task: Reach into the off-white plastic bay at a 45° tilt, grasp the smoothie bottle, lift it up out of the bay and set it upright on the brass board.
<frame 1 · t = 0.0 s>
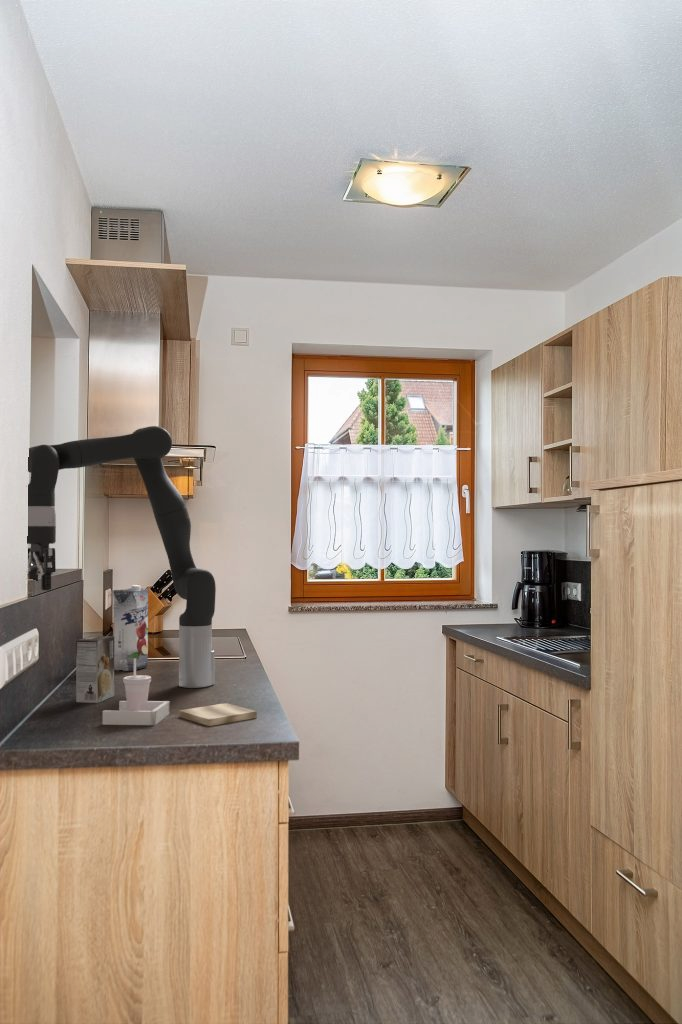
hand: (39, 589, 206), 29 cm above the counter, tool pointing down, fingers open, 8 cm apart
smoothie: (137, 720, 191), resting in bay
juice carton: (130, 669, 265), on the counter
brass board: (217, 717, 193), on the counter
coffee box: (95, 700, 215), on the counter
bay: (137, 719, 191), on the counter
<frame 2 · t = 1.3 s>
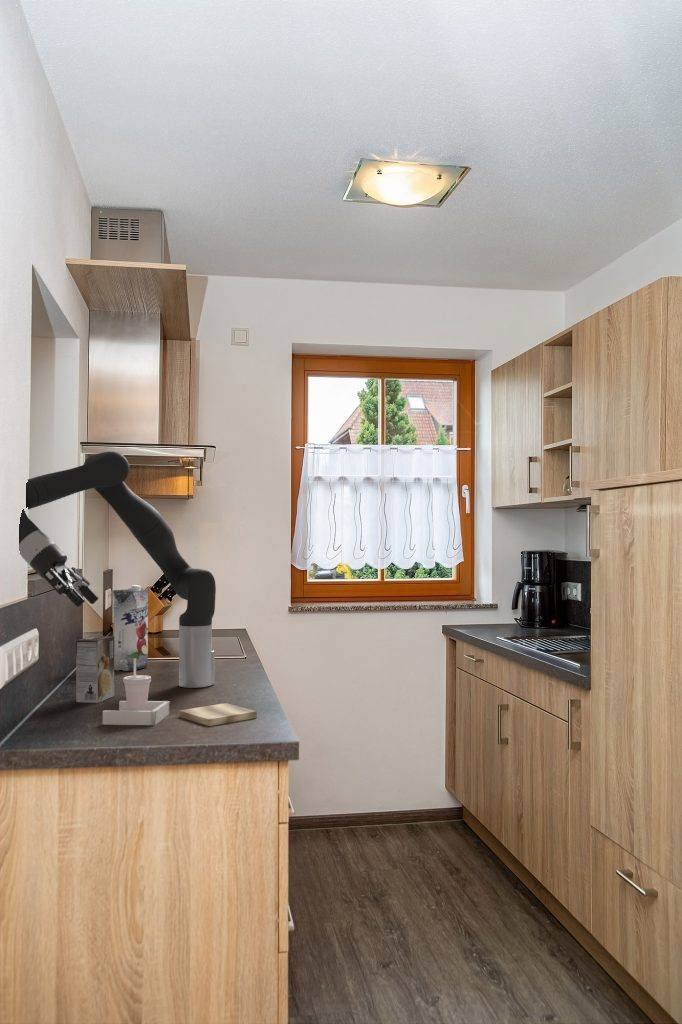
hand: (88, 602, 193), 27 cm above the counter, tool tilted 45°, fingers open, 8 cm apart
nothing on the counter moved.
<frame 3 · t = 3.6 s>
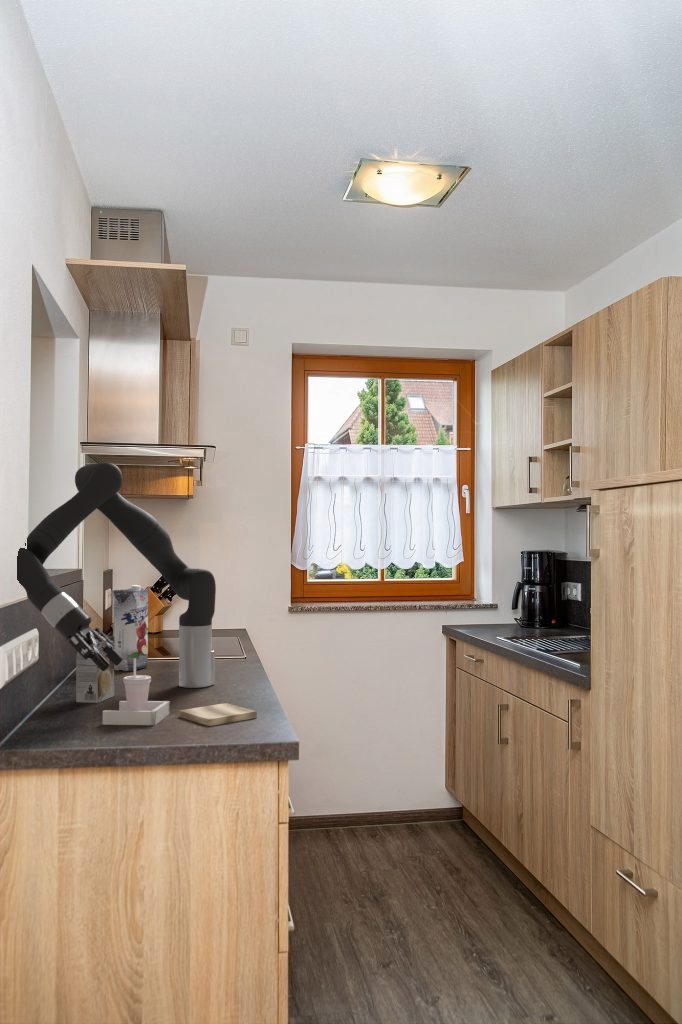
hand: (113, 665, 192), 12 cm above the counter, tool tilted 45°, fingers open, 8 cm apart
nothing on the counter moved.
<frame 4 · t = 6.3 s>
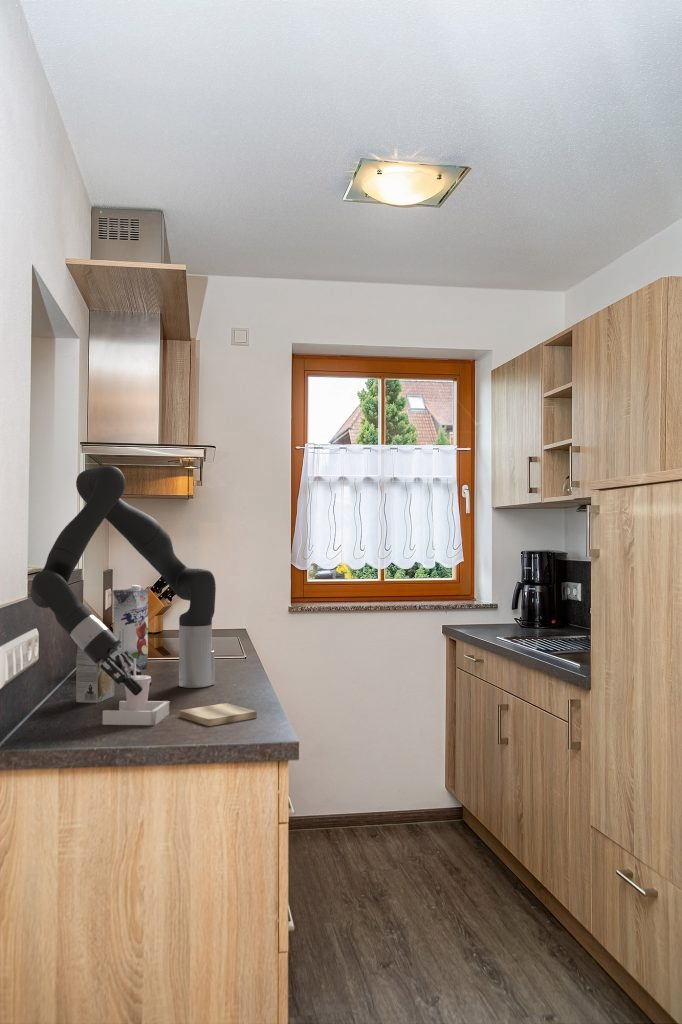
hand: (144, 689, 191), 7 cm above the counter, tool tilted 45°, fingers closed on smoothie, 6 cm apart
smoothie: (137, 719, 191), resting in bay, touching gripper
everything else where it was.
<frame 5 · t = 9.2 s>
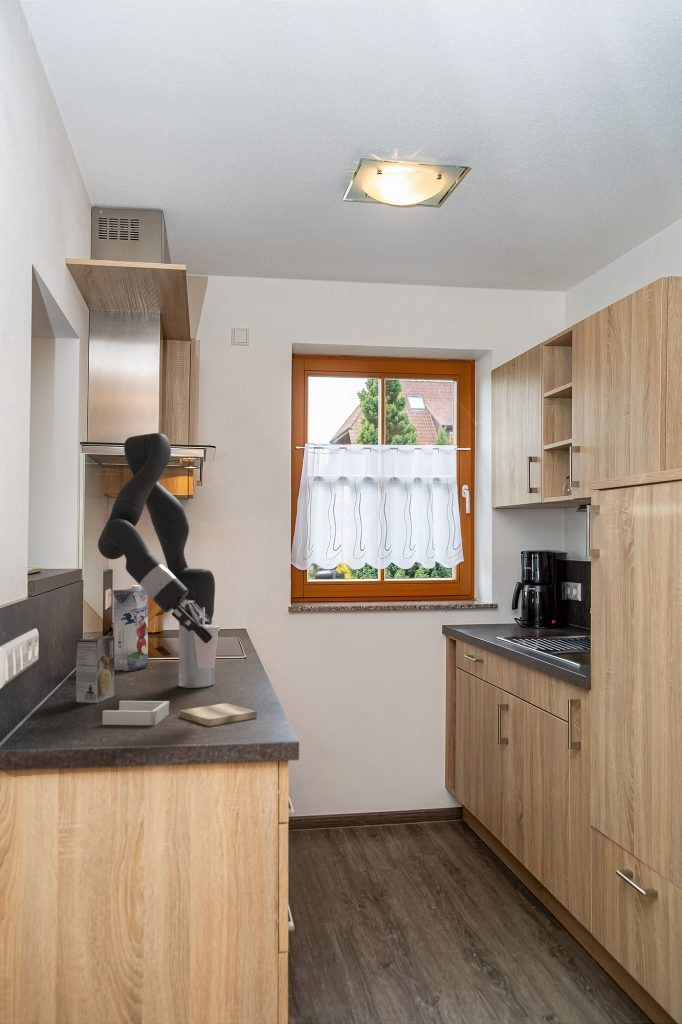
hand: (213, 638, 193), 18 cm above the counter, tool tilted 45°, fingers closed on smoothie, 6 cm apart
smoothie: (206, 668, 193), point 11 cm above the counter, touching gripper
everything else where it was.
when the fingers open (10 cm above the counter, at t = 12.1 s): smoothie drops 1 cm, resting on brass board.
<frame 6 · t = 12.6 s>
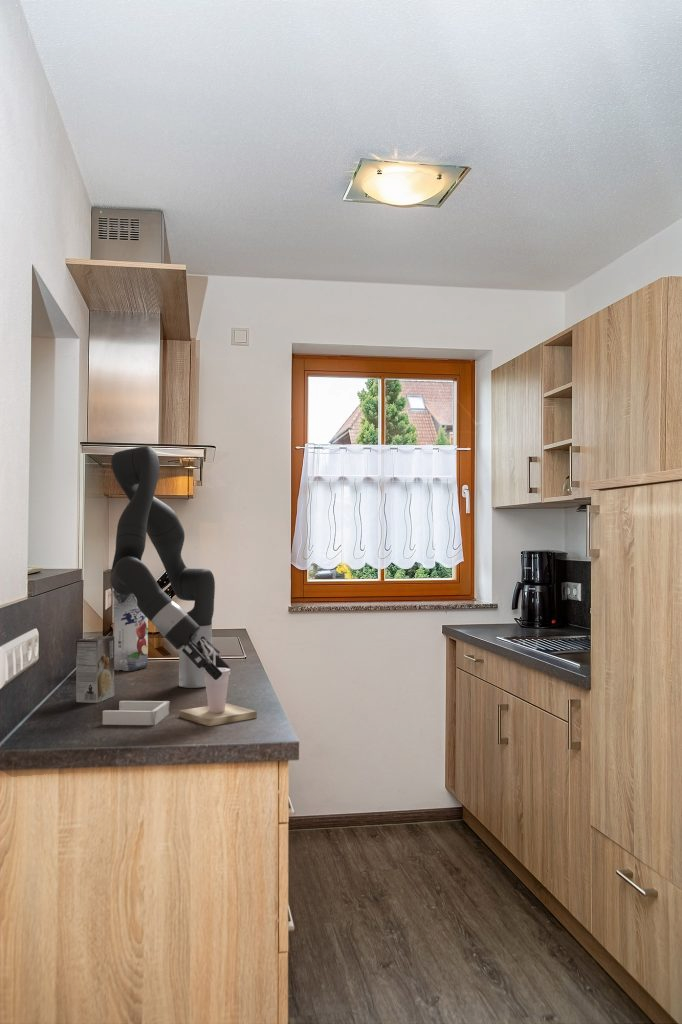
hand: (223, 674, 193), 10 cm above the counter, tool tilted 45°, fingers open, 8 cm apart
smoothie: (216, 711, 192), point 1 cm above the counter, touching brass board
everything else where it was.
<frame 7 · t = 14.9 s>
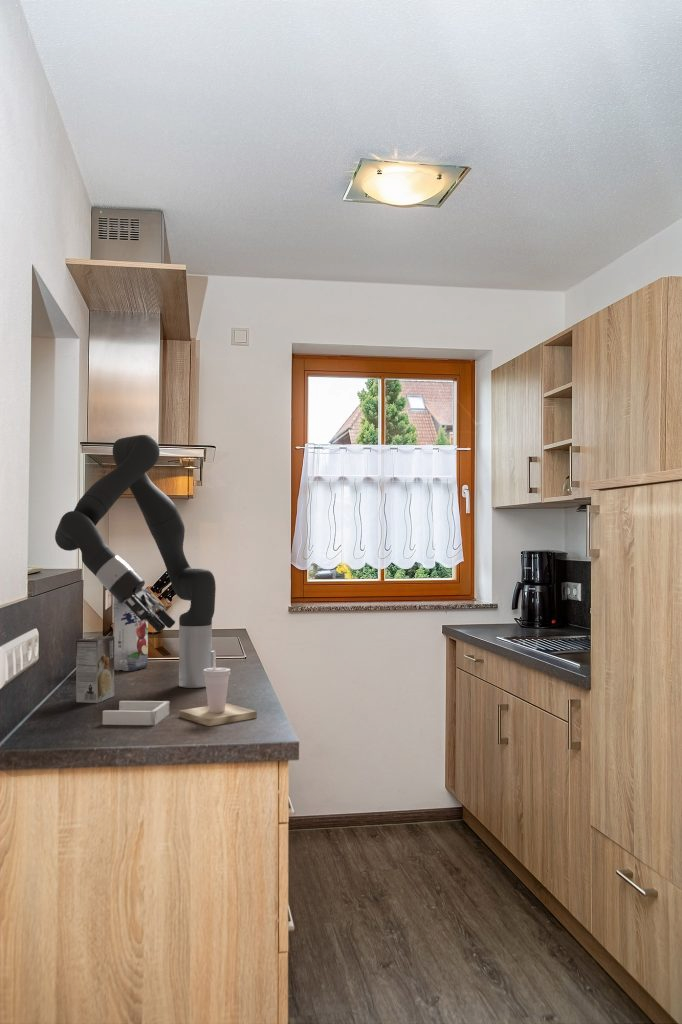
hand: (167, 627, 195), 21 cm above the counter, tool tilted 45°, fingers open, 8 cm apart
nothing on the counter moved.
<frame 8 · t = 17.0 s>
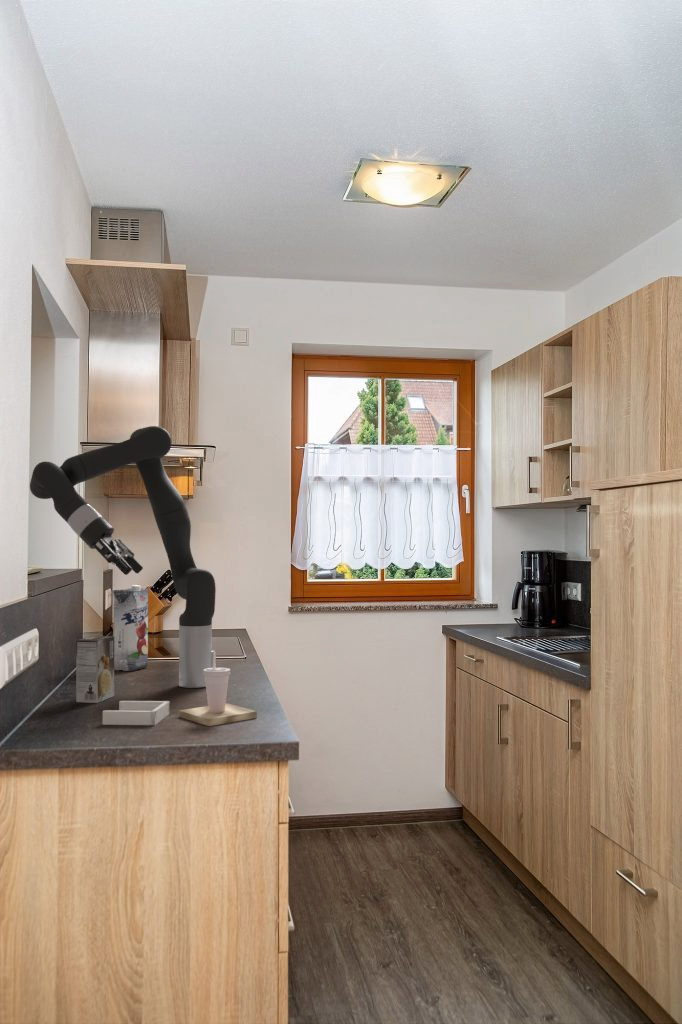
hand: (134, 571, 206), 34 cm above the counter, tool tilted 45°, fingers open, 8 cm apart
nothing on the counter moved.
at the end: smoothie inside the target area on the brass board (0.3 cm from its centre), point 1.3 cm above the brass board's base; smoothie tilted 0°; the gripper is holding nothing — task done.
